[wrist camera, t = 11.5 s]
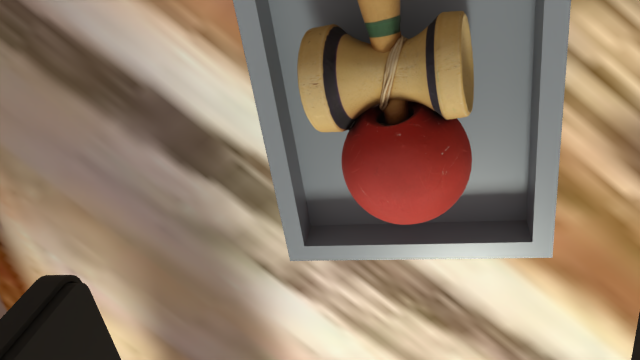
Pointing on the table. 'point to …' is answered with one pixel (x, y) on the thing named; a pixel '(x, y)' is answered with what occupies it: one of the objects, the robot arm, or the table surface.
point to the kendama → (394, 109)
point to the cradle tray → (480, 126)
